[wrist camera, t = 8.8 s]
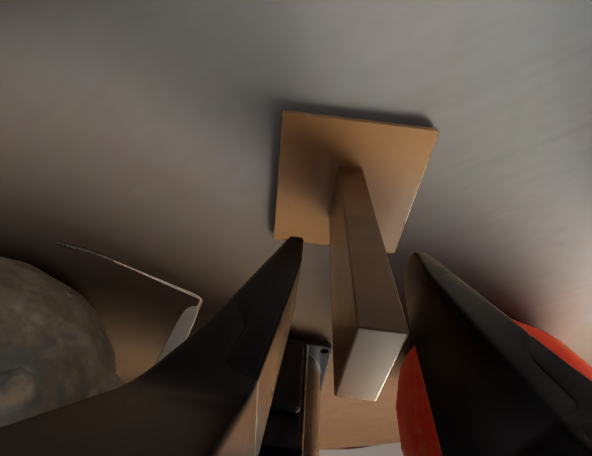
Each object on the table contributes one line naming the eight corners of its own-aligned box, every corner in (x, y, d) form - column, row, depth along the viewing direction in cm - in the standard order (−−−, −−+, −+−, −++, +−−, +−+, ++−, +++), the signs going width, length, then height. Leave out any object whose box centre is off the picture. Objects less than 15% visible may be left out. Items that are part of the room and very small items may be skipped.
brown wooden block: (350, 221, 14) (376, 402, 7) (328, 218, 14) (334, 396, 7) (362, 168, 12) (411, 333, 5) (338, 165, 12) (357, 326, 5)
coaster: (393, 249, 15) (394, 254, 14) (274, 234, 15) (273, 238, 14) (436, 128, 11) (440, 130, 11) (283, 109, 11) (282, 111, 11)
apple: (378, 391, 22) (415, 624, 13) (397, 293, 16) (481, 589, 8) (524, 397, 21) (666, 654, 12) (597, 297, 15) (952, 639, 7)
